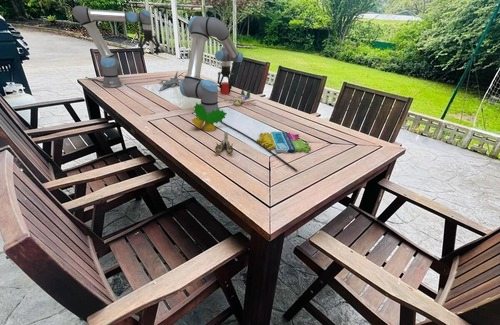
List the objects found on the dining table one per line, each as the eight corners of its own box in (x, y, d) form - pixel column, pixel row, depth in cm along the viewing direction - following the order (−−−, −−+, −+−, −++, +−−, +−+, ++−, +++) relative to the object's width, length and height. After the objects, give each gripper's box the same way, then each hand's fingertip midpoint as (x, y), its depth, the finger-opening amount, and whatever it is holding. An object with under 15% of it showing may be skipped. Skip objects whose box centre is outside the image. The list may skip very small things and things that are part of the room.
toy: (261, 91, 228) (254, 99, 202) (261, 99, 231) (253, 108, 205) (231, 87, 233) (220, 95, 207) (230, 95, 236) (219, 104, 210)
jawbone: (234, 135, 144) (233, 125, 135) (233, 160, 138) (232, 151, 129) (217, 135, 144) (216, 125, 135) (216, 160, 138) (214, 150, 129)
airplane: (151, 82, 259) (149, 71, 254) (182, 80, 273) (181, 70, 267) (158, 92, 231) (157, 81, 226) (193, 90, 244) (192, 79, 239)
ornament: (218, 133, 171) (224, 110, 169) (221, 134, 163) (227, 111, 161) (186, 125, 162) (192, 101, 160) (189, 126, 155) (195, 101, 153)
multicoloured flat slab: (313, 150, 142) (258, 149, 139) (312, 153, 143) (258, 152, 140) (301, 132, 164) (254, 130, 161) (301, 134, 165) (254, 133, 162)
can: (229, 92, 244) (229, 82, 239) (229, 94, 237) (229, 84, 233) (221, 92, 243) (221, 82, 239) (221, 94, 237) (221, 83, 232)
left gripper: (135, 29, 226) (139, 56, 237) (162, 30, 242) (164, 54, 253) (131, 29, 231) (135, 54, 241) (158, 29, 247) (160, 53, 257)
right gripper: (237, 66, 231) (236, 92, 242) (215, 64, 232) (215, 90, 244) (236, 67, 225) (235, 94, 236) (213, 65, 226) (213, 92, 237)
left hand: (150, 54), depth 247 cm, fingers open, 13 cm apart
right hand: (225, 92), depth 240 cm, fingers closed on can, 7 cm apart
